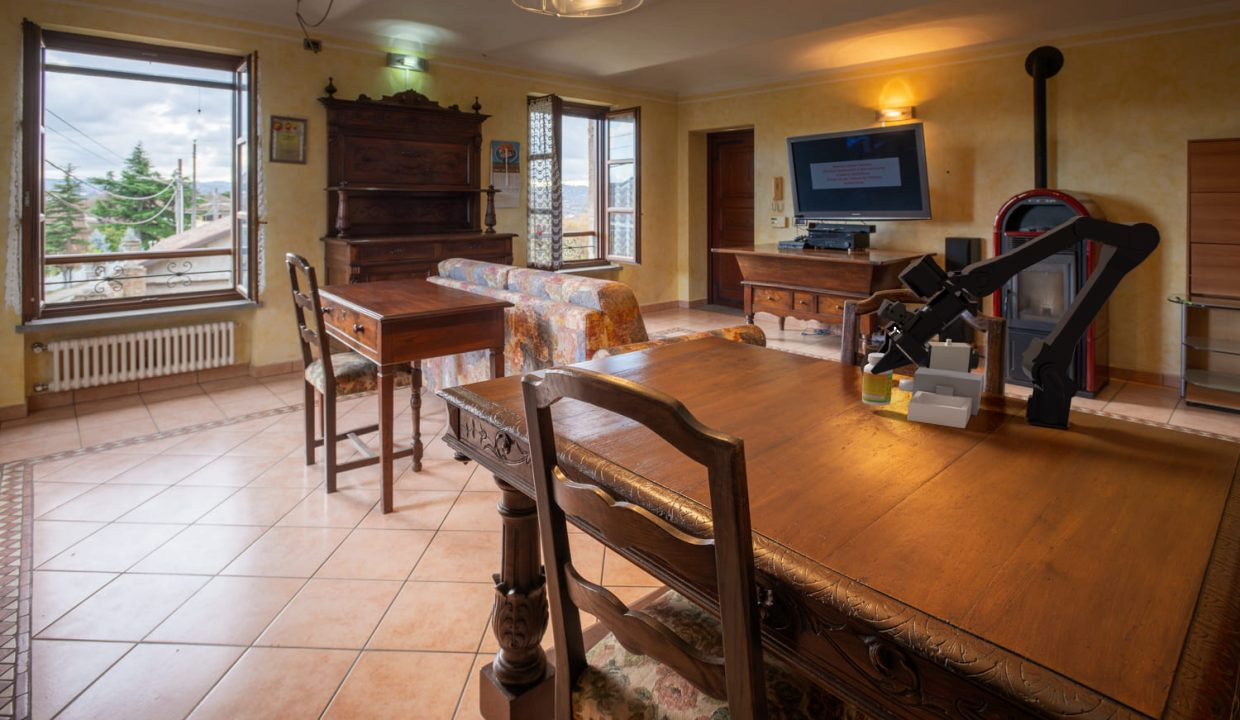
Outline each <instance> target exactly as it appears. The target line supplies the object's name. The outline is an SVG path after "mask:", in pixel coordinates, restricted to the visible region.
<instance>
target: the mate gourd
mask: <svg viewBox="0 0 1240 720" xmlns="http://www.w3.org/2000/svg"><path fill="white" fill-rule="evenodd" d="M882 345H883V341H879V343H878V344H870V345H869V344H868V345H867V346H865V352H864V357H863V358H862V360H861V364H860V372H861V375H862V377H863V376H864V367H865V366H866V365H867V364H869V362H868V355H869V354H870V353H877V351H878V350H879V349H880V347H881V346H882Z"/></svg>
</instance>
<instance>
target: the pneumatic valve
mask: <svg viewBox="0 0 1240 720" xmlns="http://www.w3.org/2000/svg"><path fill="white" fill-rule="evenodd" d="M945 341H946V342H943V341H942V342H941V341H940V342H939V341H929V342H927V343H926V344H925V346H926V347H925V348H924V349H925V350H926V351H927V360H925V361H924V362H923V363H922V364H920V365H919V366H918V365H917V364H916V366H917V368H919V367H920V368H929V369H938V370H947V371H957V372H966V373H972V372H973V370H974V371H975V370H977V369H978V367H979V366H980V365H979V364H980V352H979V350H978V349H975V348H974V346H973V345H971V344H969V343H967V342H952V339H951V338H946V340H945Z"/></svg>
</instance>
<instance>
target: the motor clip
mask: <svg viewBox="0 0 1240 720" xmlns="http://www.w3.org/2000/svg"><path fill="white" fill-rule="evenodd" d="M917 368H918V369H916V371H914V374H913V380H911V379H905V378H900V380H899V382H898V390H899V391H901V392H908V393H909V392H910V393H911V394H912V395H911V398H910V399H909V401H908V408H907V417H906V418H907V419H906V420H907V421H912V422H917V423H918V422H920V423H926V424H934V425H940V426H946V427H953V428H959V429H965V428H966V426H967V424H968V422H969V420H970V418H971V416H972V415H973V416H977V415H978V413H979V410H980V406H981V397H982V389H983V381H984V374H983V373H973V372H971V373H966V372H957V371H947V370H938V369H929V368H922V367H917Z"/></svg>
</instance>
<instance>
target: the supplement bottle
mask: <svg viewBox="0 0 1240 720" xmlns="http://www.w3.org/2000/svg"><path fill="white" fill-rule="evenodd" d="M883 355H884V354H883V353H870V354H869V355H868V362H869V364H867V365H866V366H865V367H864V376H862V378H863V380H862V395H861V400H862V402H863V403H864V404H866V405H870V406H881V407H882V406H888V405H890V404H891V401H892V400H891V399H892V387H893V375H894V373H893V372H894V369H892V370H889V371H886V372H882V373H879V374H876V375H874V374H873V373H872V372H871V369H872V368H873V367H874V366H875V364H876V363H877V362H878V361H879V360H880V359H881V358H882V357H883Z"/></svg>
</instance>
